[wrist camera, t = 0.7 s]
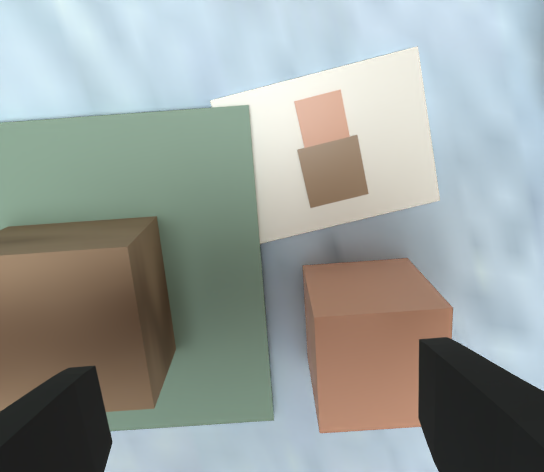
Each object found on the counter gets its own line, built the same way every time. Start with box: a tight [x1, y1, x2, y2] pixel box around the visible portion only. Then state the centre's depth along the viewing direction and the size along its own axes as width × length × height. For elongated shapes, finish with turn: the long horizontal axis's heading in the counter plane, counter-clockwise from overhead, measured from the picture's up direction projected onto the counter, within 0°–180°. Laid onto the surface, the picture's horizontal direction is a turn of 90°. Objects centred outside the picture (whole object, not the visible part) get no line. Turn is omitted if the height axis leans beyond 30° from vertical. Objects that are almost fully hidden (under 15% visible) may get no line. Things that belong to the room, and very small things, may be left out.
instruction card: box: [210, 46, 440, 244], centre depth 18 cm, size 6×8×1 cm
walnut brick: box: [0, 216, 176, 412], centre depth 17 cm, size 6×6×4 cm
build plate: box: [0, 105, 274, 431], centre depth 19 cm, size 14×14×1 cm
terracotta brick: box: [303, 258, 453, 433], centre depth 18 cm, size 4×4×5 cm
